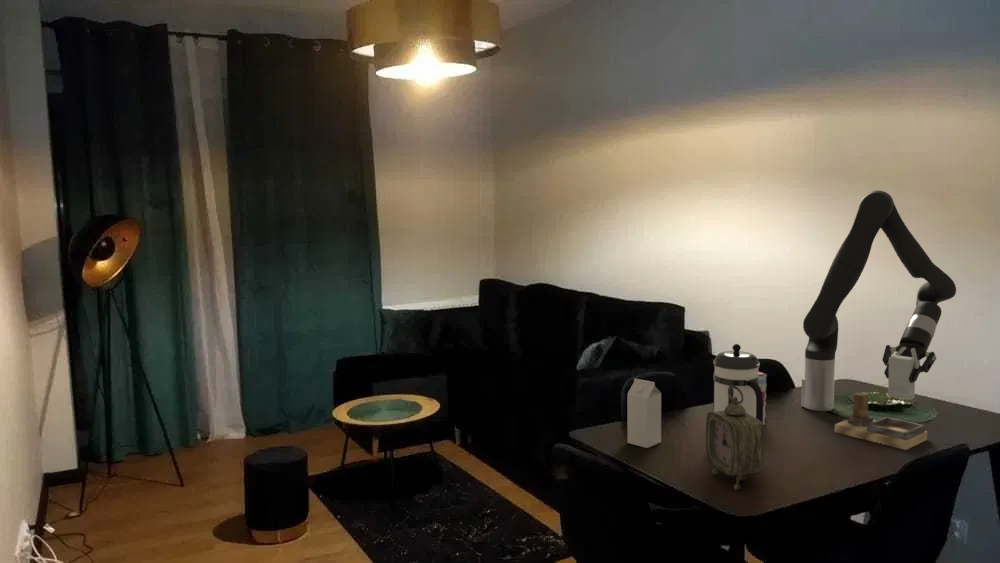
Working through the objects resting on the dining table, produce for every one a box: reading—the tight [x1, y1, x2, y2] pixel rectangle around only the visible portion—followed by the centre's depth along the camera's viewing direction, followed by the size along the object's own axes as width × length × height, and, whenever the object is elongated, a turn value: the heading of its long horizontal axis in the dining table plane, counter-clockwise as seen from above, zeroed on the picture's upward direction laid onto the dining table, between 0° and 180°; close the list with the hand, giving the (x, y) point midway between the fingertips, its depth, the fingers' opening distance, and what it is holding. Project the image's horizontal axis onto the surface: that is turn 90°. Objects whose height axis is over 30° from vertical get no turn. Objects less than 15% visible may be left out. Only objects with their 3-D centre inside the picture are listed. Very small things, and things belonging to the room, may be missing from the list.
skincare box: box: [887, 354, 916, 401], centre depth 221 cm, size 6×4×12 cm
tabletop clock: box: [705, 386, 767, 491], centre depth 192 cm, size 14×9×25 cm, turn 13°
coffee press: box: [712, 343, 763, 423], centre depth 217 cm, size 17×16×30 cm
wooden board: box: [834, 392, 928, 451], centre depth 224 cm, size 21×13×12 cm, turn 38°
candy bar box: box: [758, 370, 768, 426], centre depth 241 cm, size 11×5×16 cm, turn 16°
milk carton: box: [626, 378, 662, 449], centre depth 223 cm, size 7×7×19 cm
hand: (899, 379), depth 220 cm, fingers closed on skincare box, 6 cm apart
